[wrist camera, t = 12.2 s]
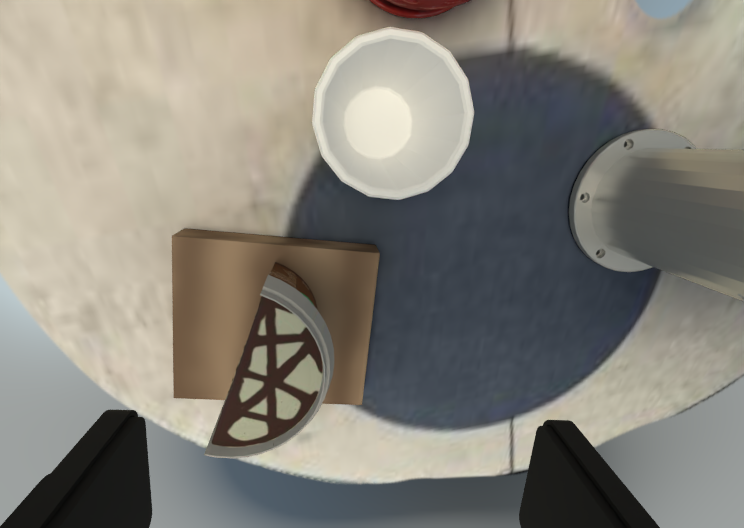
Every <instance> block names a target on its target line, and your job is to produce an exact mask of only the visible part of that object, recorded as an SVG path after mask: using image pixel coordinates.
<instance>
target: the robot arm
mask: <svg viewBox="0 0 744 528" xmlns="http://www.w3.org/2000/svg"><path fill="white" fill-rule="evenodd" d="M580 197H581V198H580ZM569 220H570V227H571V231H572V234H573V237H574V239H575V241H576V243H577V245H578V246H579V248H580V249H581V250H582V251H583V253H584V254H585V255H586V256H587V257H589V258H590V259H591V260H593V261H594V262H595V263H597V264H600V265H602V266H604V267H606V268H609V269H612V270H616V271H623V272H634V271H642V270H646V269H649V268H652V267H655V268H657V269H660V270H662V271H665V272H668V273H670V274H673V275H676V276H678V277H681V278H683V279H686V280H689V281H691V282H694V283H697V284H699V285H702V286H704V287H707V288H710V289H712V290H715V291H718V292H720V293H723V294H725V295H728V296H731V297H733V298H736V299H739V300H741V301H744V150H726V149H696V147H695V146H694V145H693V144H692V143H691V142H690V141H688V140H687V139H686V138H684V137H683V136H681V135H679V134H677V133H675V132H671V131H667V130H663V129H645V130H635V131H632V132H628V133H625V134H622V135H620V136H618V137H616V138H614V139H612V140H610V141H609V142H608V143H606V144H605V145H604V146H602V147H601V148H600V149H598V150H597V151H596V152H595V153H594V155H593V156H592V157H591V158H590V159H589V160H588V161H587V163H586V164H585V166H584V167H583V168H582V170H581V171H580V173H579V175H578V177H577V180H576V182H575V184H574V187H573V190H572V194H571V197H570V205H569ZM151 518H152V503H151V490H150V477H149V464H148V451H147V438H146V425H145V419H144V418H143V417H138V414H137V412H136V411H134V410H107V411H105V412H104V413H103V414H102V415H101V416H100V418H99V419H98V420H97V421H96V422H95V423H94V425H93V426H92V427H91V428H90V429H89V431H87V433H86V434H85V435H84V436H83V437H82V438H81V439H80V441H79V442H78V443H77V444H76V445H75V446H74V448H73V449H72V450H71V451H70V452H69V453H68V454H67V455H66V457H65V458H64V459H63V460H62V461H61V462H60V463H59V465H58V466H57V467H56V468H55V469H54V470H53V472H52V473H51V474H48V475H47V476H45V477H44V478H43V479H42V480H41V481H40V482H39V483H38V484H37V485H36V487H35V488H34V489H33V490H32V491H31V492H30V493H29V495H28V496H27V497H26V498H25V499H24V500H23V501H22V502H21V504H20V505H19V506H18V507H17V508H16V509H15V510H14V512H13V513H12V514H11V515H10V516H9V517H8V518H7V519H6V521H5V522H4V523H3V524H2V525H1V526H0V528H149V526H150V522H151ZM519 520H520V525H521V528H660V527H659V526H658V525H657V524H656V522H655V521H654V520H653V519H652V518H651V516H650V515H649V514H648V513H647V512H646V510H645V509H644V508H643V507H642V506H641V504H640V503H639V502H638V501H637V499H636V498H635V497H634V496H633V495H632V493H631V492H630V491H629V490H628V489H627V487H626V486H625V485H624V484H623V482H622V481H621V480H620V479H619V478H618V476H617V475H616V474H615V473H614V471H613V470H612V469H611V468H610V467H609V466H608V464H607V463H606V462H605V461H604V459H603V458H602V457H601V456H600V455H599V453H598V452H597V451H596V450H595V448H594V447H593V446H592V445H591V444H590V442H589V441H588V440H587V439H586V438H585V436H584V435H583V434H582V433H581V431H580V430H579V429H578V428H577V427H576V425H575V424H574V423H573V422H572V421H568V420H547V421H545V422H544V424H543V426H539V427H538V428H537V431H536V436H535V441H534V446H533V450H532V455H531V460H530V465H529V469H528V474H527V479H526V484H525V488H524V493H523V498H522V503H521V507H520V513H519Z"/></svg>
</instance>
